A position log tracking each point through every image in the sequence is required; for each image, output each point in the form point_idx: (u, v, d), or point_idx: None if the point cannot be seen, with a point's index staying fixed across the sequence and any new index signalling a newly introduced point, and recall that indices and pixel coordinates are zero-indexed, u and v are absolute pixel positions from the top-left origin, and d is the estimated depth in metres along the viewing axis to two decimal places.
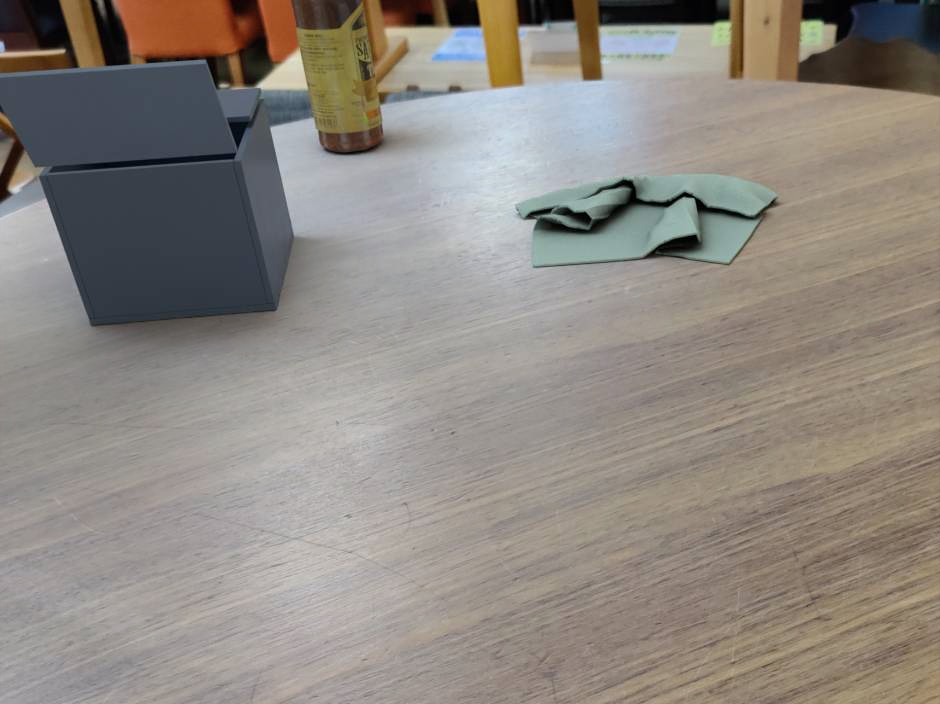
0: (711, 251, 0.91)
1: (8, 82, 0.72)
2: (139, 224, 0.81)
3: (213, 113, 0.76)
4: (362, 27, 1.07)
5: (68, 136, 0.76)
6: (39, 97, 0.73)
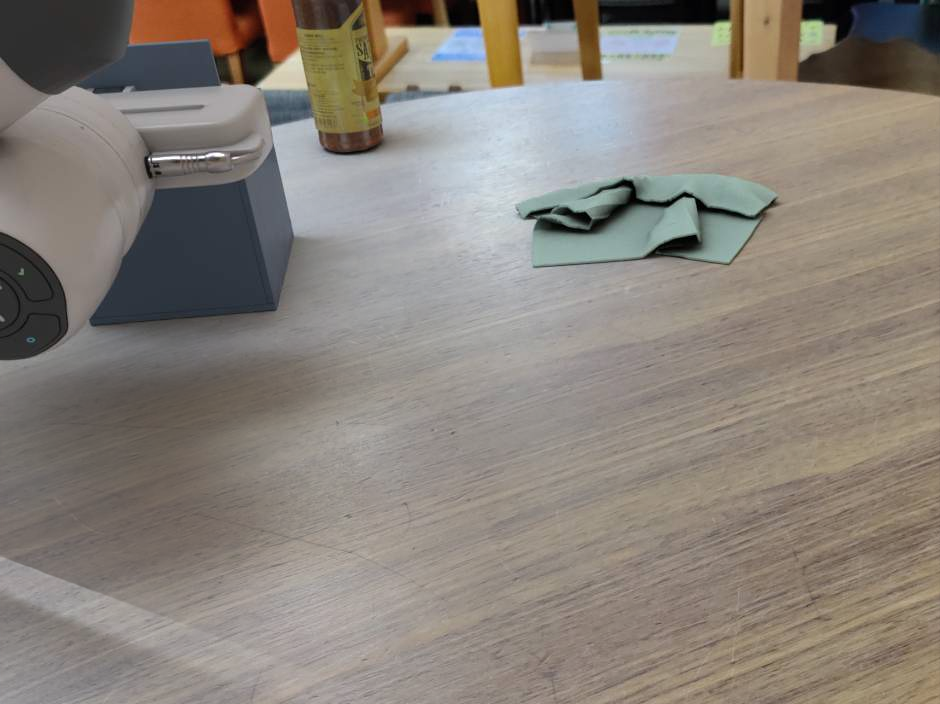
0: (711, 251, 0.91)
1: None
2: None
3: None
4: (362, 27, 1.07)
5: None
6: None
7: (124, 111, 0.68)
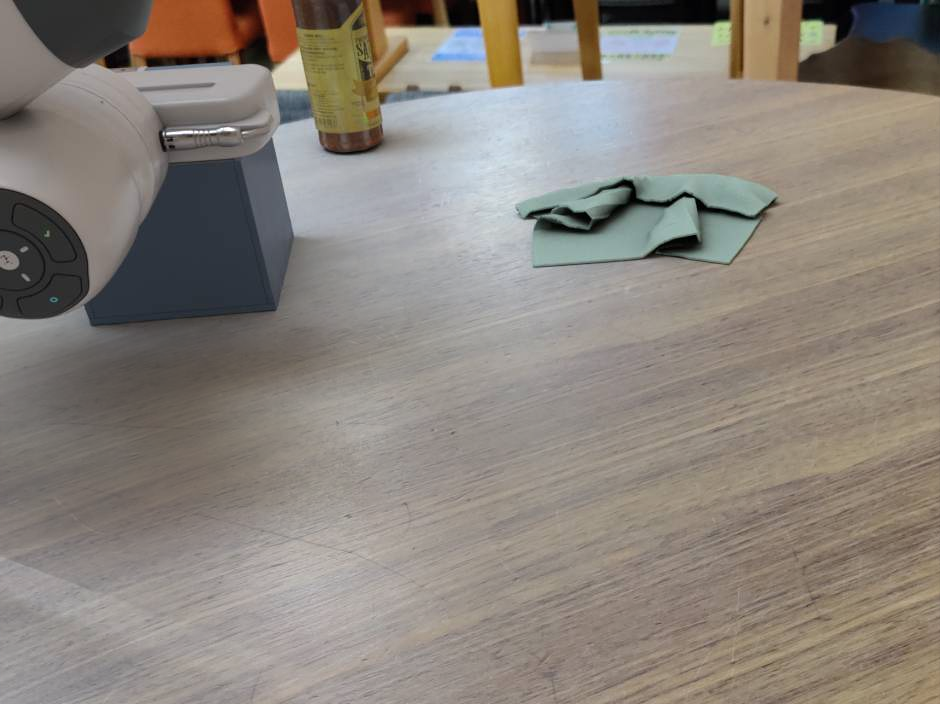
0: (711, 251, 0.91)
1: None
2: None
3: None
4: (362, 27, 1.07)
5: None
6: None
7: (139, 88, 0.72)
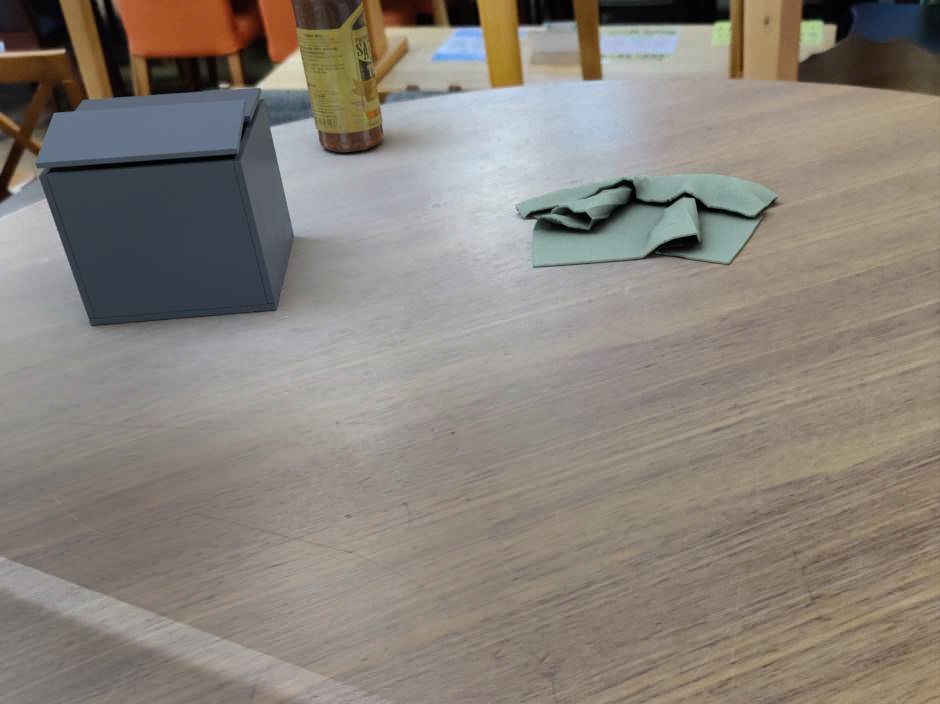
0: (711, 251, 0.91)
1: (70, 113, 0.82)
2: (139, 224, 0.81)
3: (231, 125, 0.81)
4: (362, 27, 1.07)
5: (88, 142, 0.80)
6: (87, 120, 0.82)
7: None
